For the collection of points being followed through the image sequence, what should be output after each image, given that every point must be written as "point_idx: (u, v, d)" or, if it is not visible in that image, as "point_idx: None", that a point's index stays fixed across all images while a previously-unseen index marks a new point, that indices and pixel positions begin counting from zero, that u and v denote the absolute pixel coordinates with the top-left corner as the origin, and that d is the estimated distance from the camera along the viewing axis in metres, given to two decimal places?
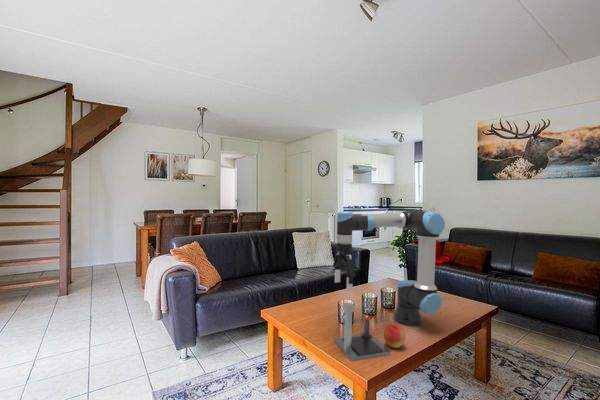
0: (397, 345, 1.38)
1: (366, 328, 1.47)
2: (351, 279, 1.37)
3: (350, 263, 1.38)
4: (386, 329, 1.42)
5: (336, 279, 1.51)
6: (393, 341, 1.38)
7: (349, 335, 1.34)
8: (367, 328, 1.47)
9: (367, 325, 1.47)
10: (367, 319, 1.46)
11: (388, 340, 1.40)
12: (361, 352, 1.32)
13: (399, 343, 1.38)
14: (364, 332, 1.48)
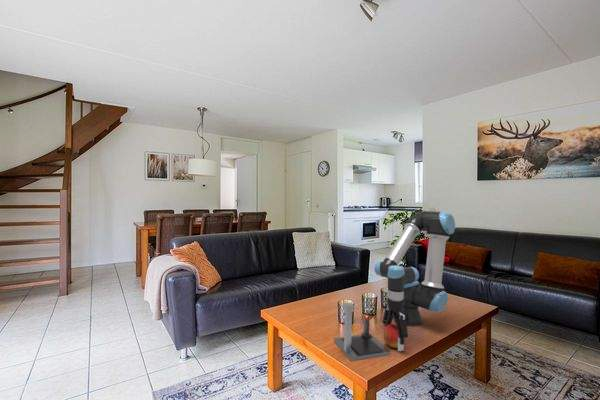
0: (397, 345, 1.38)
1: (366, 328, 1.47)
2: (403, 340, 1.36)
3: (403, 324, 1.35)
4: (386, 329, 1.42)
5: None
6: (393, 341, 1.38)
7: (349, 335, 1.34)
8: (367, 328, 1.47)
9: (367, 325, 1.47)
10: (367, 319, 1.46)
11: (388, 340, 1.40)
12: (361, 352, 1.32)
13: None
14: (364, 332, 1.48)
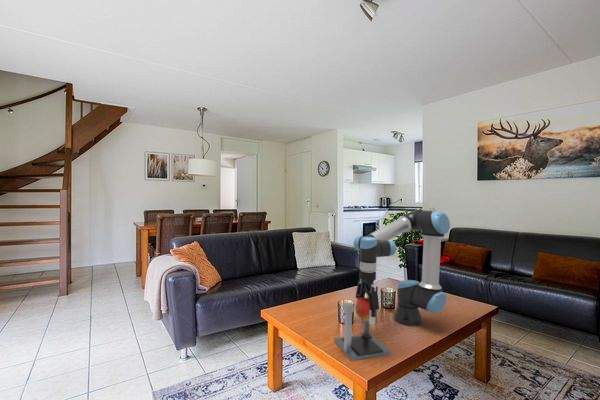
0: (368, 318, 1.34)
1: (366, 328, 1.47)
2: (374, 312, 1.31)
3: (374, 295, 1.31)
4: (358, 302, 1.37)
5: None
6: (364, 313, 1.33)
7: (349, 335, 1.34)
8: (367, 328, 1.47)
9: (367, 325, 1.47)
10: None
11: (359, 313, 1.35)
12: (361, 352, 1.32)
13: None
14: (364, 332, 1.48)
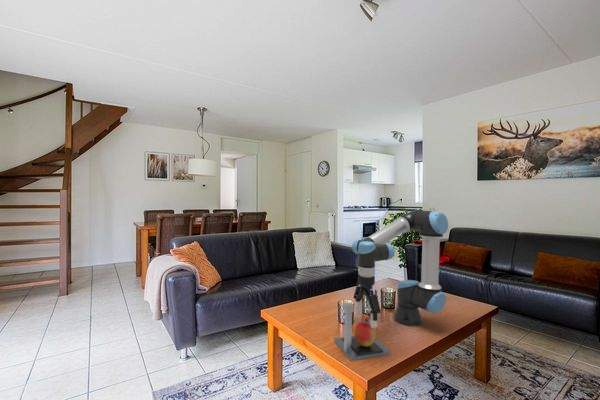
0: (367, 344, 1.34)
1: None
2: (376, 315, 1.30)
3: (374, 298, 1.30)
4: (356, 327, 1.37)
5: (357, 312, 1.44)
6: (363, 339, 1.33)
7: (349, 335, 1.34)
8: None
9: None
10: (367, 319, 1.46)
11: (358, 339, 1.35)
12: (361, 352, 1.32)
13: (369, 342, 1.33)
14: None
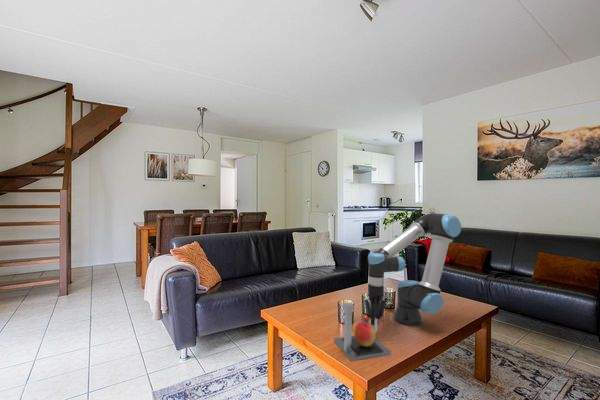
0: (367, 344, 1.34)
1: None
2: (371, 320, 1.49)
3: (366, 306, 1.48)
4: (356, 327, 1.37)
5: None
6: (363, 339, 1.33)
7: (349, 335, 1.34)
8: None
9: None
10: (366, 319, 1.46)
11: (358, 339, 1.35)
12: (361, 352, 1.32)
13: (369, 342, 1.33)
14: None
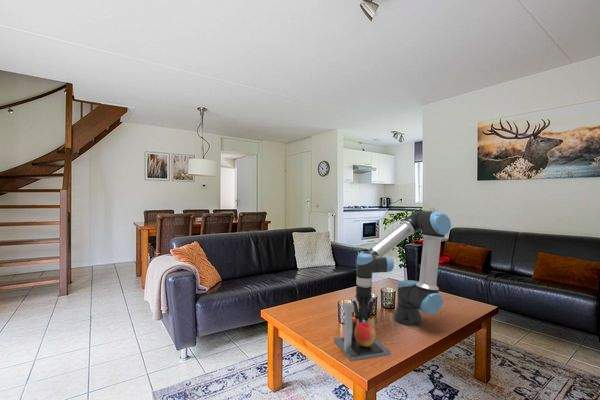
0: (367, 344, 1.34)
1: (353, 330, 1.45)
2: (359, 321, 1.47)
3: None
4: (356, 327, 1.37)
5: None
6: (363, 339, 1.33)
7: (349, 335, 1.34)
8: (354, 330, 1.45)
9: (354, 327, 1.45)
10: (354, 321, 1.44)
11: (358, 339, 1.35)
12: (361, 352, 1.32)
13: (369, 342, 1.33)
14: None
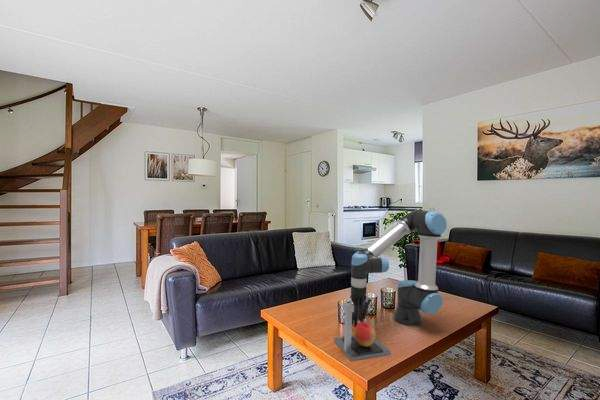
0: (367, 344, 1.34)
1: None
2: (354, 322, 1.46)
3: None
4: (356, 327, 1.37)
5: None
6: (363, 339, 1.33)
7: (349, 335, 1.34)
8: None
9: None
10: None
11: (358, 339, 1.35)
12: (361, 352, 1.32)
13: (369, 342, 1.33)
14: None
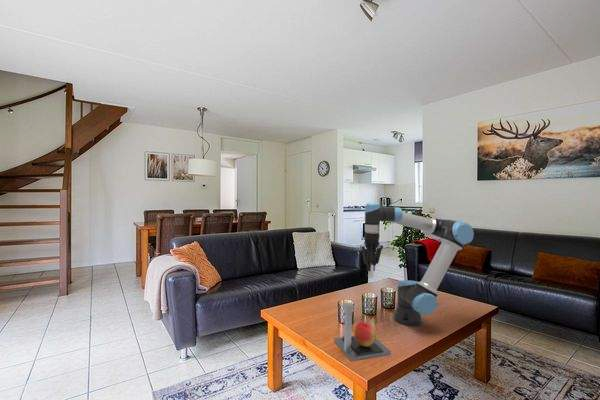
0: (367, 344, 1.34)
1: None
2: (367, 266, 1.55)
3: (362, 252, 1.55)
4: (356, 327, 1.37)
5: None
6: (363, 339, 1.33)
7: (349, 335, 1.34)
8: None
9: None
10: None
11: (358, 339, 1.35)
12: (361, 352, 1.32)
13: (369, 342, 1.33)
14: None
